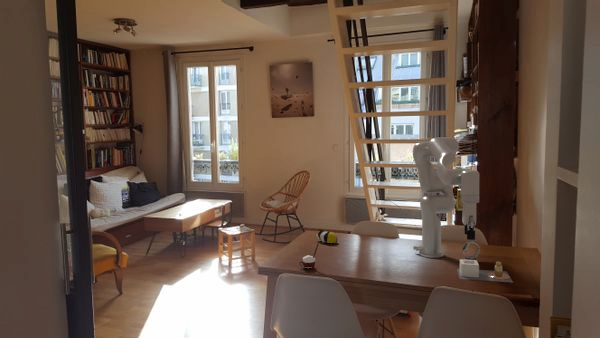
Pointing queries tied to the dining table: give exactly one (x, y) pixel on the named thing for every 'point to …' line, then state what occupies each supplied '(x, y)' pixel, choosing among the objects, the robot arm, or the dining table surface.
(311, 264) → the cocoa
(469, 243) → the watch
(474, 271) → the square hollow frame
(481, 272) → the board
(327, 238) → the figurine
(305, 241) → the dining table surface
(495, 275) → the hub
